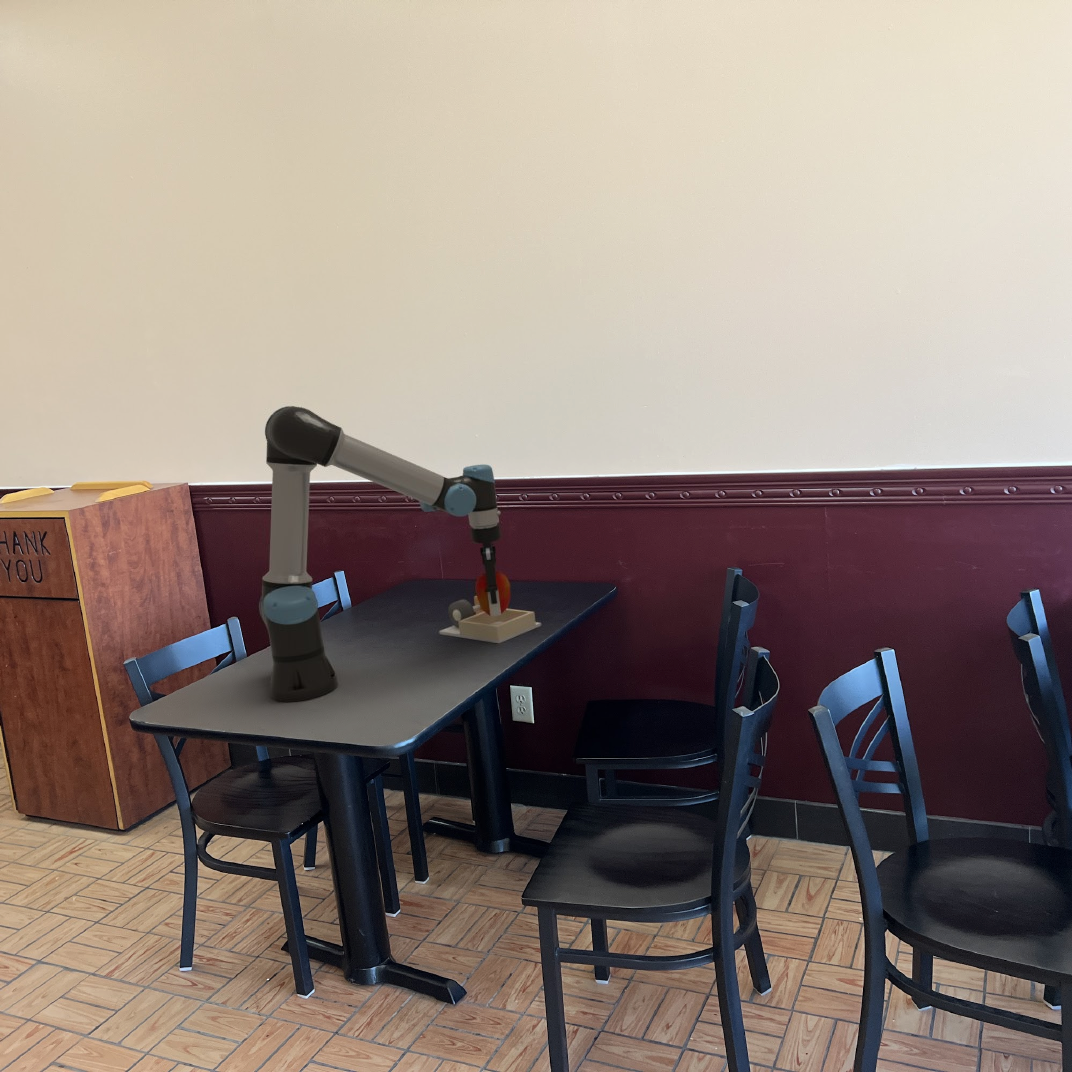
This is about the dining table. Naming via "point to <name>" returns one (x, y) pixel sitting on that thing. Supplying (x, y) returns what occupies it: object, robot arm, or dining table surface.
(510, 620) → the chassis
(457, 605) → the wheel
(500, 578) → the apple
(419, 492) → the robot arm
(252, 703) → the dining table surface
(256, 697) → the dining table surface
